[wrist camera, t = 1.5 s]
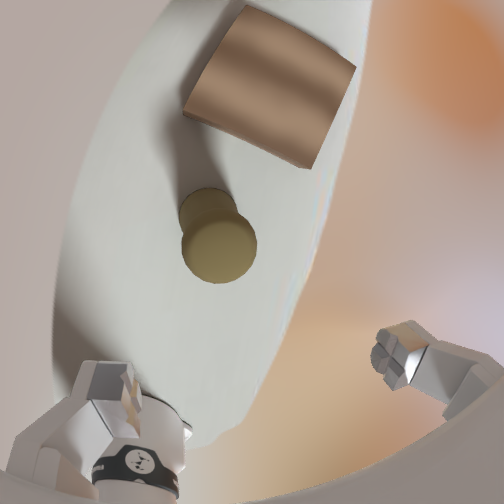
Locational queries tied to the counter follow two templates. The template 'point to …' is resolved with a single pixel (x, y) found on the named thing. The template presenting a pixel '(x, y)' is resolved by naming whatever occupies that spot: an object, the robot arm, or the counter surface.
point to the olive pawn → (216, 237)
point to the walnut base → (272, 87)
